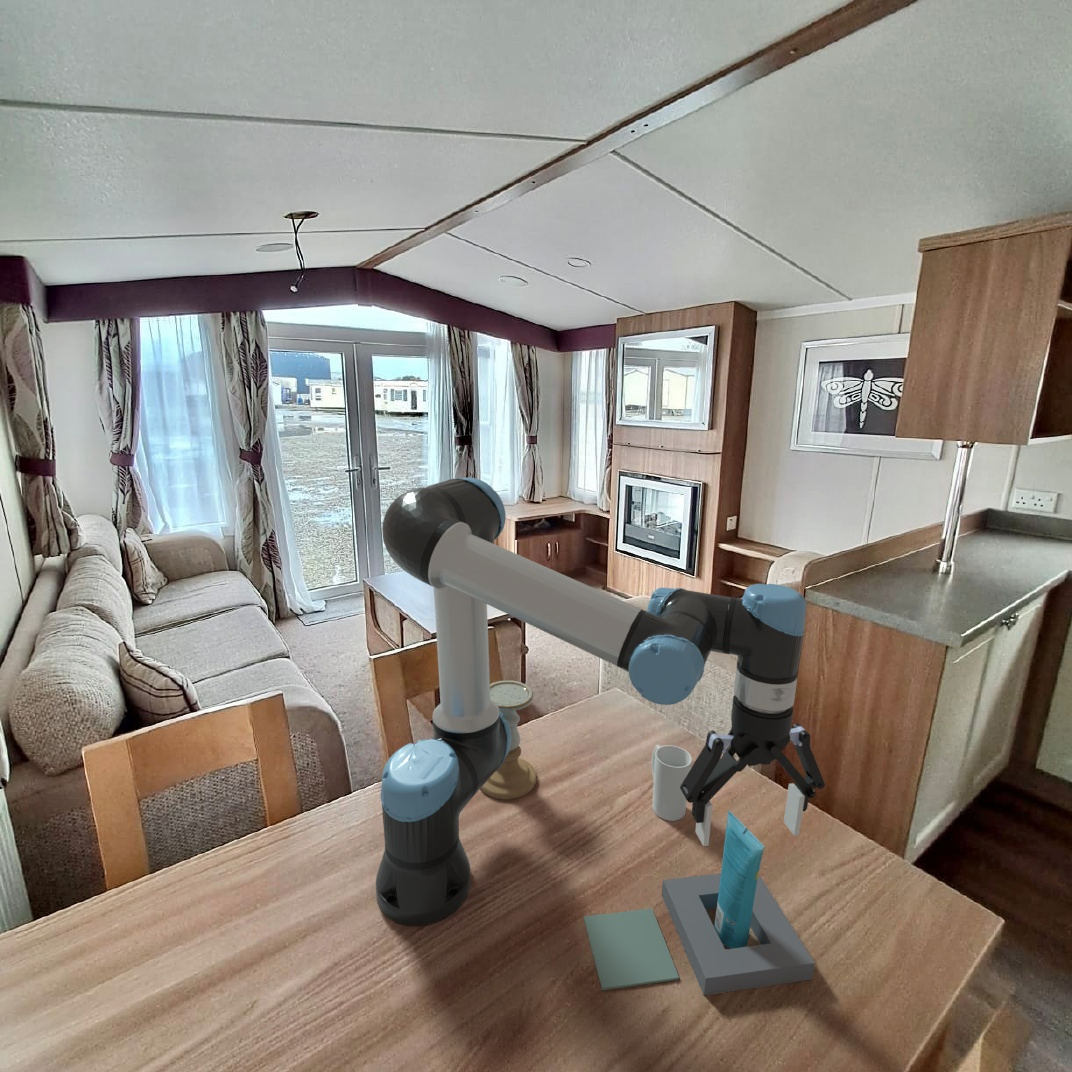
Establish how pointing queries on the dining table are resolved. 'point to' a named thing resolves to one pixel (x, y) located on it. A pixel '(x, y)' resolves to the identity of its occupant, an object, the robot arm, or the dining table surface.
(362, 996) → the dining table surface
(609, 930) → the coaster
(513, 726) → the candle holder
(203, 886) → the dining table surface
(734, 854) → the tube
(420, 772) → the robot arm
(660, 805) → the mug
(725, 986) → the socket board
